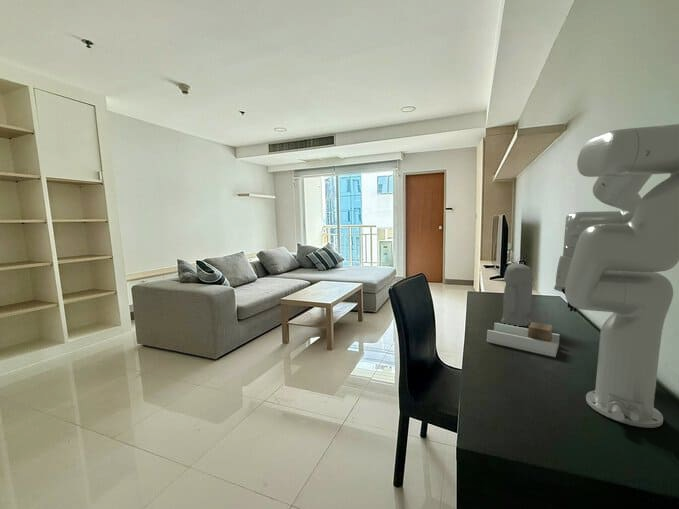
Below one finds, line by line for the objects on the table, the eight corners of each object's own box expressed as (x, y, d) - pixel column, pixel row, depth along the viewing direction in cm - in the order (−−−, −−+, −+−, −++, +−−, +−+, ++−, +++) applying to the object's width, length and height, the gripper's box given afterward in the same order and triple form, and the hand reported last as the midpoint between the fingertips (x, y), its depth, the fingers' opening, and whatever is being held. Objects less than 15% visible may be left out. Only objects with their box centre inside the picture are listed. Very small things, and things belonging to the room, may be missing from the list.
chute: (558, 345, 105) (559, 334, 105) (555, 357, 96) (556, 344, 96) (494, 332, 118) (495, 322, 117) (486, 341, 109) (487, 330, 108)
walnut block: (551, 342, 104) (552, 325, 104) (548, 349, 99) (550, 330, 98) (530, 338, 108) (531, 321, 108) (527, 344, 103) (528, 326, 102)
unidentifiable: (527, 329, 121) (531, 266, 119) (498, 324, 127) (501, 264, 125) (533, 320, 132) (536, 262, 130) (506, 316, 139) (509, 261, 136)
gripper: (609, 253, 93) (603, 312, 96) (550, 250, 103) (546, 303, 105) (610, 255, 88) (604, 318, 90) (547, 252, 97) (543, 309, 99)
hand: (573, 310), depth 98 cm, fingers closed
